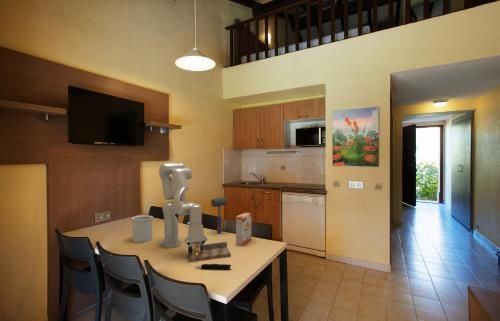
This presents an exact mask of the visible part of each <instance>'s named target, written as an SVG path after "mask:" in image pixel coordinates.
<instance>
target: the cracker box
mask: <svg viewBox="0 0 500 321" xmlns="http://www.w3.org/2000/svg"><path fill="white" fill-rule="evenodd" d="M235 223H236V224H235V226H236V227H235V229H236V230H235V244H236V245H238V246H244V245H246V244H247V243H249V242H250V241H251V240H252V213H251V212H244V213H242V214H239V215H236V216H235Z"/></svg>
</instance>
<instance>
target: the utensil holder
mask: <svg viewBox="0 0 500 321" xmlns="http://www.w3.org/2000/svg"><path fill="white" fill-rule="evenodd" d="M153 219H154V216H153V215H138V216H134V217H132V218H131V221H132V222H131V224H132V243H136V244H137V243H146V242H149V241H151V240H152V239H153Z"/></svg>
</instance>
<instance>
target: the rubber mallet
mask: <svg viewBox="0 0 500 321" xmlns="http://www.w3.org/2000/svg"><path fill="white" fill-rule="evenodd" d="M210 204H211V206H212V208H217V216H216V222H217V223H216V224H217V229H216V230H217V234H221V233H222V230H223V229H222V222H223V221H222V210H221V207H223V206H226V205H227V204H228V199H227V198H226V197H224V196H221V197H215V198H212V199H211V202H210Z"/></svg>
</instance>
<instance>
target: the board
mask: <svg viewBox="0 0 500 321" xmlns="http://www.w3.org/2000/svg"><path fill="white" fill-rule="evenodd" d="M231 256H232V254H231V252H230V250H229V248H228V241H221V242H213V243H212V242H211V243H204V244H203V245H202V250H201V252H200V254H198V256H196V255H192V253H191V251H190V246H189V245H187V258H188V259H187V260H188V263H192V262H194V263H195V262H200V261H207V260H214V259H221V258H230V257H231Z"/></svg>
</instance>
